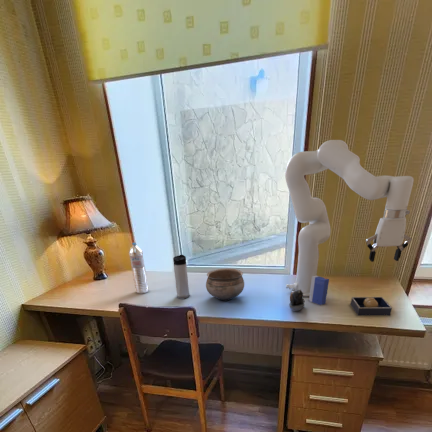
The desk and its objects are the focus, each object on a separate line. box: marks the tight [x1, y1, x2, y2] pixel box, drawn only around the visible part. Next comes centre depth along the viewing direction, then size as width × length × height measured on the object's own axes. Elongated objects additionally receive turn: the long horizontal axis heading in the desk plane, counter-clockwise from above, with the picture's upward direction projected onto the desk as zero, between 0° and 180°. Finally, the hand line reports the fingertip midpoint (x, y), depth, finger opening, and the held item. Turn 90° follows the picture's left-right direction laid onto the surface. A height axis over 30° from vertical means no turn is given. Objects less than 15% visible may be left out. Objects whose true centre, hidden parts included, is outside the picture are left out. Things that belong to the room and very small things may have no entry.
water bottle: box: [128, 242, 149, 295], centre depth 172 cm, size 7×7×25 cm
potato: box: [364, 296, 378, 307], centre depth 144 cm, size 5×8×5 cm, turn 175°
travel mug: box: [172, 254, 190, 300], centre depth 165 cm, size 6×7×20 cm
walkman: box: [308, 275, 330, 306], centre depth 153 cm, size 8×3×12 cm, turn 32°
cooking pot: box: [205, 268, 245, 301], centre depth 163 cm, size 25×19×12 cm
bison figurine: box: [289, 289, 306, 312], centre depth 148 cm, size 12×7×10 cm, turn 170°
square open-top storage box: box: [349, 296, 393, 317], centre depth 145 cm, size 13×13×4 cm
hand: (383, 260), depth 136 cm, fingers open, 9 cm apart
